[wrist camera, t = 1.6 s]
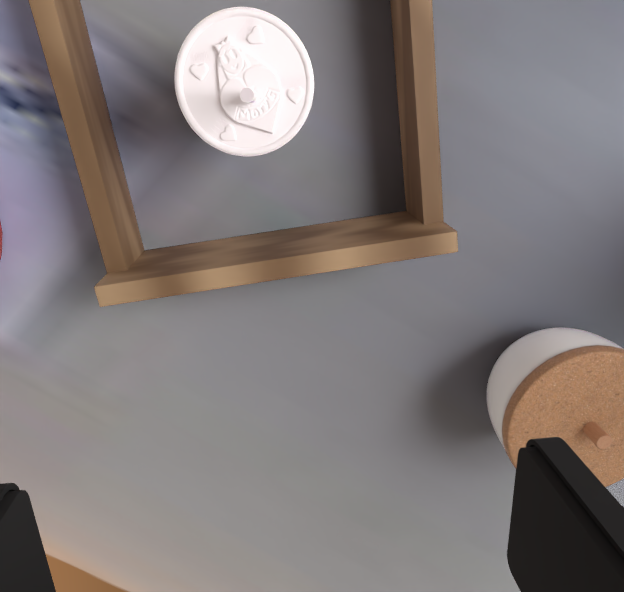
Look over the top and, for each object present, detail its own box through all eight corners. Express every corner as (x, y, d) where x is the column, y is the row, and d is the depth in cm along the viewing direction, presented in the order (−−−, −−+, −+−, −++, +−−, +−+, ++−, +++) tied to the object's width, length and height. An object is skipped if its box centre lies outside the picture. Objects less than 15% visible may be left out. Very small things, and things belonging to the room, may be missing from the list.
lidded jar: (628, 355, 41) (725, 423, 33) (532, 450, 44) (598, 537, 35) (534, 278, 39) (611, 330, 30) (437, 385, 41) (483, 462, 32)
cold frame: (401, -132, 30) (438, -199, 23) (424, 225, 37) (457, 251, 30) (36, -80, 29) (-33, -134, 23) (131, 269, 36) (99, 306, 30)
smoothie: (235, 162, 34) (212, 198, 21) (179, 67, 32) (115, 43, 19) (322, 111, 34) (354, 115, 20) (270, 11, 31) (269, -55, 18)
